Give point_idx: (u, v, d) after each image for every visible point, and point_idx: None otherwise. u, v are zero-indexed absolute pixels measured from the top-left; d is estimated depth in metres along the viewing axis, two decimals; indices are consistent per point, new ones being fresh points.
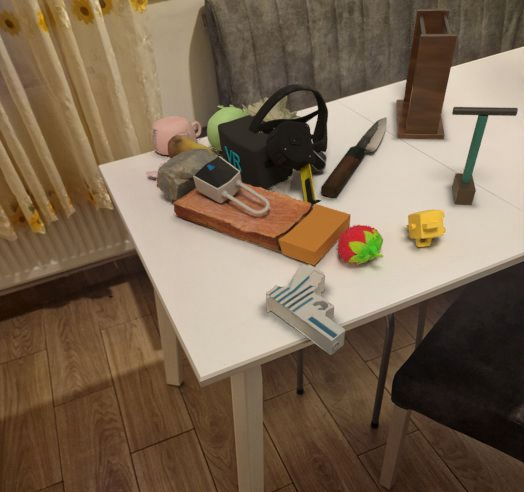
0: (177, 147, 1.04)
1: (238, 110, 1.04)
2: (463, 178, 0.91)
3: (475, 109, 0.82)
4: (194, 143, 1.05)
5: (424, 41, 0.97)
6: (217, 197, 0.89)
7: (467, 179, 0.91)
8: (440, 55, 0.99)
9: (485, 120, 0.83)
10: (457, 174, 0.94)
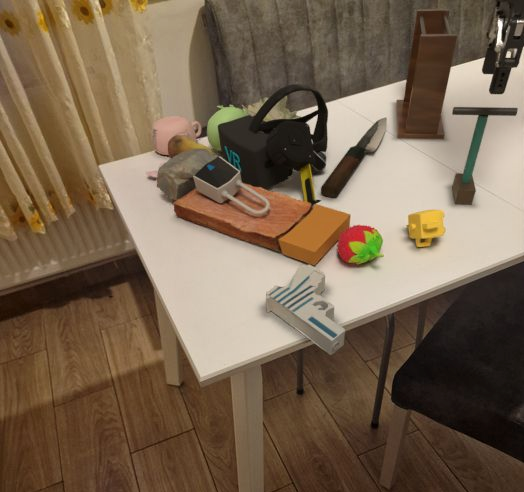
0: (177, 147, 1.04)
1: (238, 110, 1.04)
2: (463, 178, 0.91)
3: (475, 109, 0.82)
4: (194, 143, 1.05)
5: (424, 41, 0.97)
6: (217, 197, 0.89)
7: (467, 179, 0.91)
8: (440, 55, 0.99)
9: (485, 120, 0.83)
10: (457, 174, 0.94)
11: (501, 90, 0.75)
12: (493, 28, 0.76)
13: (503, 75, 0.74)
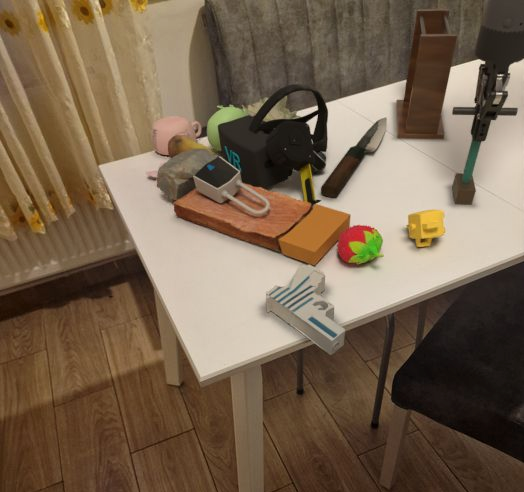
0: (177, 147, 1.04)
1: (238, 110, 1.04)
2: (463, 178, 0.91)
3: (475, 109, 0.82)
4: (194, 143, 1.05)
5: (424, 41, 0.97)
6: (217, 197, 0.89)
7: (467, 179, 0.91)
8: (440, 55, 0.99)
9: None
10: (457, 174, 0.94)
11: (482, 138, 0.84)
12: (480, 85, 0.81)
13: (484, 125, 0.83)
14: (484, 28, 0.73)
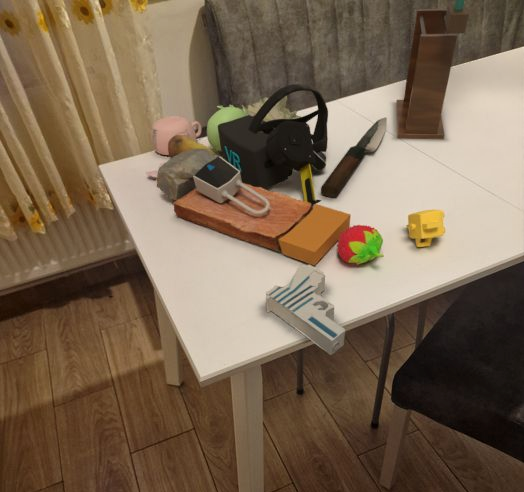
0: (177, 147, 1.04)
1: (238, 110, 1.04)
2: (456, 4, 0.89)
3: None
4: (194, 143, 1.05)
5: (424, 41, 0.97)
6: (217, 197, 0.89)
7: (460, 5, 0.89)
8: (440, 55, 0.99)
9: None
10: (450, 5, 0.92)
11: None
12: None
13: None
14: None
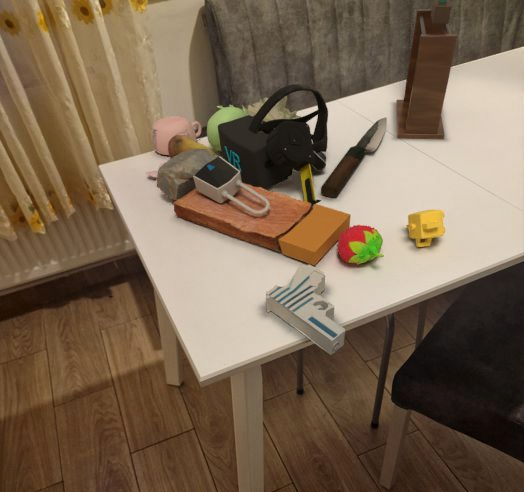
0: (177, 147, 1.04)
1: (238, 110, 1.04)
2: None
3: None
4: (194, 143, 1.05)
5: (424, 41, 0.97)
6: (217, 197, 0.89)
7: None
8: (440, 55, 0.99)
9: None
10: None
11: None
12: None
13: None
14: None
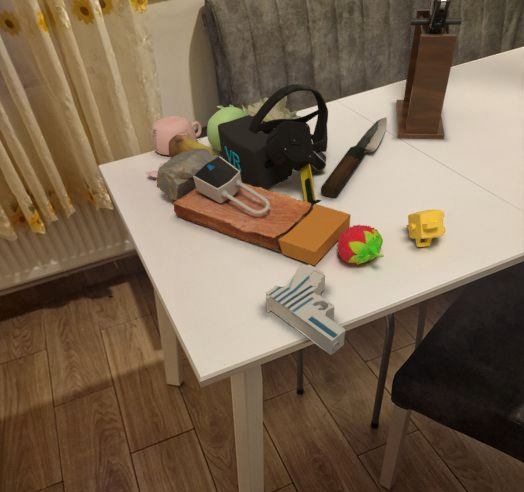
0: (178, 147, 1.04)
1: (238, 110, 1.04)
2: None
3: (428, 20, 1.02)
4: (195, 143, 1.05)
5: (424, 41, 0.97)
6: (217, 197, 0.89)
7: None
8: (440, 55, 0.99)
9: None
10: None
11: None
12: None
13: None
14: None
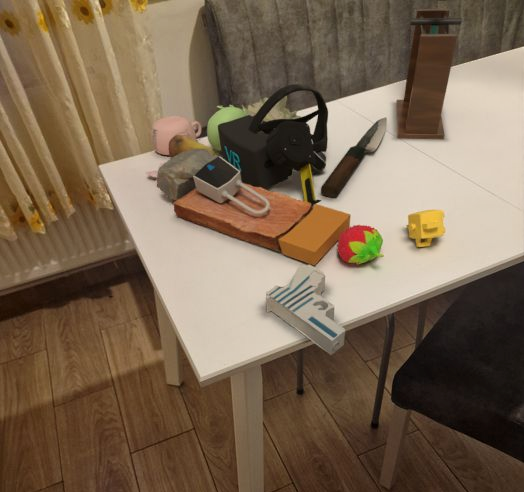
0: (178, 147, 1.04)
1: (238, 110, 1.04)
2: None
3: (428, 20, 1.02)
4: (195, 143, 1.05)
5: (424, 41, 0.97)
6: (217, 197, 0.89)
7: None
8: (440, 55, 0.99)
9: (436, 29, 1.03)
10: None
11: None
12: None
13: None
14: None
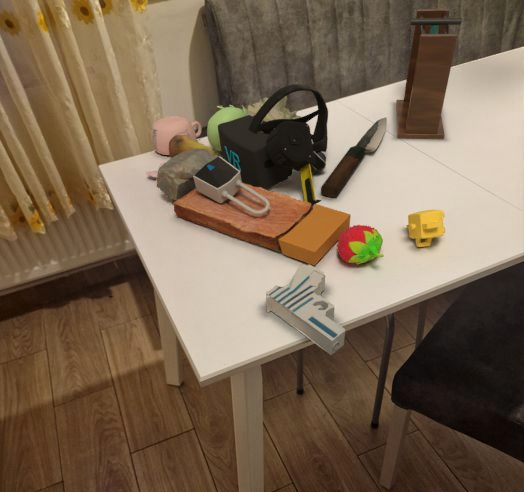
0: (178, 147, 1.04)
1: (238, 110, 1.04)
2: None
3: (428, 20, 1.02)
4: (195, 143, 1.05)
5: (424, 41, 0.97)
6: (217, 197, 0.89)
7: None
8: (440, 55, 0.99)
9: (436, 29, 1.03)
10: None
11: None
12: None
13: None
14: None
